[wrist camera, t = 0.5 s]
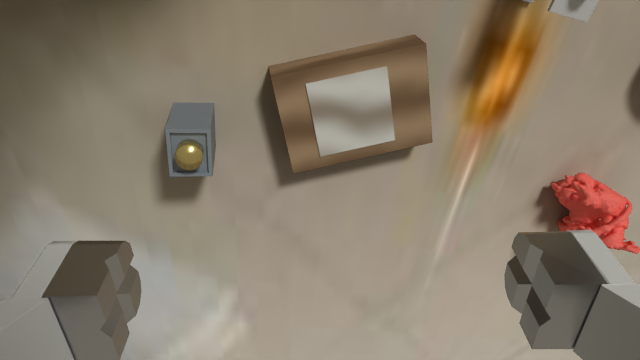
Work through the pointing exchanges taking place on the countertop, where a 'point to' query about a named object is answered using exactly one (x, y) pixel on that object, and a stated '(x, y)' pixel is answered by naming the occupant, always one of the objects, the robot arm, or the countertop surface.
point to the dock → (354, 102)
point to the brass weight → (189, 154)
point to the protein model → (595, 210)
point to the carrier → (191, 135)
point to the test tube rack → (572, 8)
